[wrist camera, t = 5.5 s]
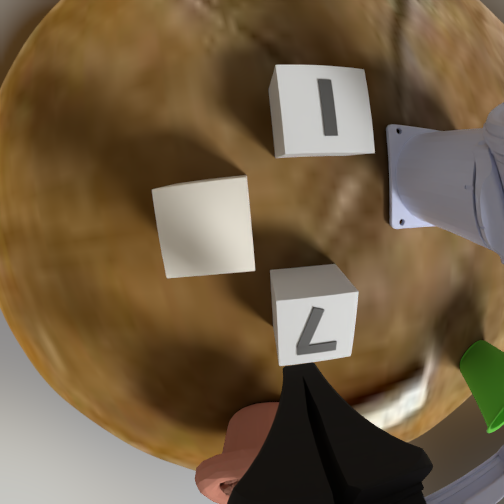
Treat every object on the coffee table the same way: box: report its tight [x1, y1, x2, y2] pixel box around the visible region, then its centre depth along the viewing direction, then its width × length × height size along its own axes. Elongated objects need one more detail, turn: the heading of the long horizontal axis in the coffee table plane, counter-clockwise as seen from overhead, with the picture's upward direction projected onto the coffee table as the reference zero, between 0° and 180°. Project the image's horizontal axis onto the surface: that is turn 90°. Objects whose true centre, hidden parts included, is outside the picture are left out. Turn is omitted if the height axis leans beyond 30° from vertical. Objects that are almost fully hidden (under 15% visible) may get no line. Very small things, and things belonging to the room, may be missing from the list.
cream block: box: [152, 175, 255, 278], centre depth 16 cm, size 5×5×5 cm
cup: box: [459, 340, 504, 433], centre depth 19 cm, size 9×9×11 cm
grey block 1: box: [268, 65, 375, 158], centre depth 14 cm, size 5×5×5 cm
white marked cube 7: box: [270, 264, 358, 366], centre depth 18 cm, size 5×5×5 cm
